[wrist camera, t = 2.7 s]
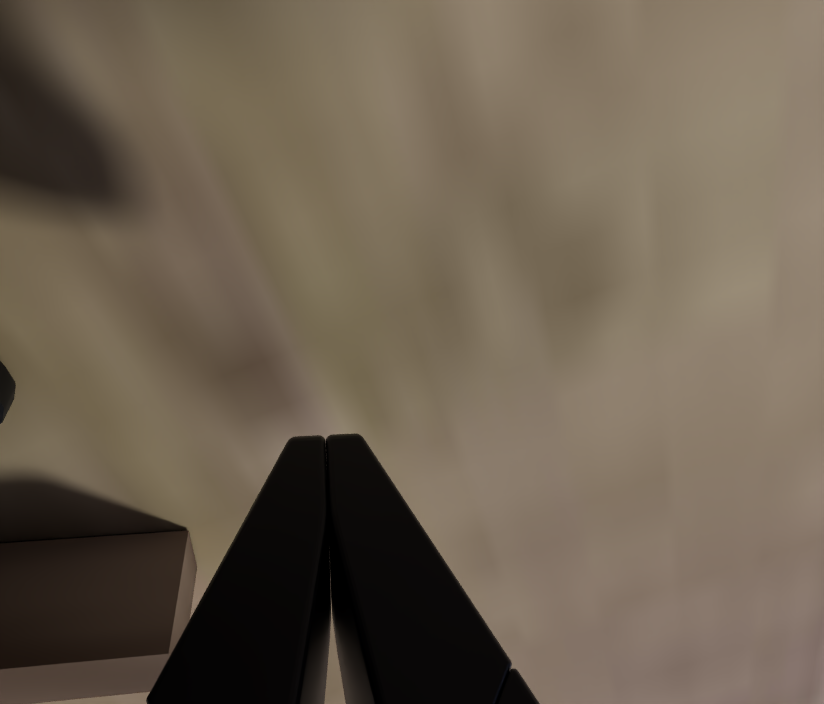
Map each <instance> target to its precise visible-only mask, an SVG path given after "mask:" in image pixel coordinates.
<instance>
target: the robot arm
mask: <svg viewBox="0 0 824 704" xmlns="http://www.w3.org/2000/svg"><path fill="white" fill-rule="evenodd" d="M326 464H327V466H326ZM329 550H330V552H329ZM330 577H331V587H330ZM331 601H332V616H333V624H334V632H335V639H336V646H337V652H338V658H339V664H340V670H341V676H342V683H343V689H344V695H345V701H346V704H539V702H538V701H537V699H536V698H535V696H534V695H533V693H532V692H531V690H530V689H529V687H528V686H527V684H526V683H525V681H524V679H523V678H522V676H521V675H520V673H519V672H518V671H517V670H516V669H511V665H512V663H511V660H510V659H509V657H508V656H507V654H506V653H505V651H504V650H503V648H502V647H501V645H500V644H499V642H498V641H497V639H496V638H495V636H494V635H493V633H492V632H491V630H490V629H489V627H488V626H487V624H486V623H485V621H484V620H483V618H482V617H481V615H480V614H479V612H478V611H477V609H476V608H475V606H474V605H473V603H472V601H471V600H470V598H469V597H468V595H467V594H466V592H465V591H464V589H463V588H462V586H461V585H460V583H459V582H458V580H457V579H456V577H455V576H454V574H453V573H452V571H451V570H450V568H449V567H448V565H447V564H446V562H445V561H444V559H443V558H442V556H441V555H440V553H439V552H438V550H437V549H436V547H435V546H434V544H433V542H432V541H431V539H430V538H429V536H428V535H427V533H426V532H425V530H424V529H423V527H422V526H421V524H420V523H419V521H418V520H417V518H416V517H415V515H414V514H413V512H412V511H411V509H410V508H409V506H408V505H407V503H406V502H405V500H404V499H403V497H402V496H401V494H400V493H399V491H398V490H397V488H396V487H395V485H394V483H393V482H392V480H391V479H390V477H389V476H388V474H387V473H386V471H385V470H384V468H383V467H382V465H381V464H380V462H379V461H378V459H377V458H376V456H375V455H374V453H373V452H372V450H371V449H370V447H369V446H368V444H367V443H366V441H365V440H364V438H363V437H362V436H361V435H359V434H337V435H330V436H328V437H327V439H326V443H325V439H324V437H322V436H319V435H317V436H298V437H292V438H291V439H289V441H288V442H287V443H286V445H285V447H284V449H283V451H282V453H281V454H280V456H279V458H278V460H277V462H276V463H275V465H274V467H273V469H272V471H271V473H270V474H269V476H268V478H267V480H266V482H265V484H264V485H263V487H262V489H261V491H260V493H259V494H258V496H257V498H256V500H255V502H254V504H253V505H252V507H251V509H250V511H249V513H248V515H247V516H246V518H245V520H244V522H243V524H242V525H241V527H240V529H239V531H238V533H237V535H236V536H235V538H234V540H233V542H232V544H231V546H230V547H229V549H228V551H227V553H226V555H225V556H224V558H223V560H222V562H221V564H220V566H219V567H218V569H217V571H216V573H215V575H214V577H213V578H212V580H211V582H210V584H209V586H208V588H207V589H206V591H205V593H204V595H203V597H202V598H201V600H200V602H199V604H198V606H197V608H196V609H195V611H194V613H193V615H192V617H191V619H190V620H189V622H188V624H187V626H186V628H185V629H184V631H183V633H182V635H181V637H180V639H179V640H178V642H177V644H176V646H175V648H174V650H173V651H172V653H171V655H170V657H169V659H168V660H167V662H166V664H165V666H164V668H163V670H162V671H161V673H160V675H159V677H158V679H157V681H156V682H155V684H154V686H153V688H152V690H151V692H150V693H149V695H148V697H147V700H146V702H147V704H324V701H325V689H326V677H327V665H328V654H329V642H330V626H331ZM510 669H511V670H510Z"/></svg>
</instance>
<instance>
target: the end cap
mask: <svg viewBox="0 0 824 704" xmlns="http://www.w3.org/2000/svg"><path fill="white" fill-rule="evenodd" d="M15 386H16V385H15V381H14V380H13V378H12V376H11V375H10V373H9V372H8V370H7V368H6V367H5V366H4V365H3V364H2V363H1V362H0V424H1V423H2V422H3V420H4V418H5V416H6V414H7V412H8V410H9V408H10V406H11V404H12V402H13V400H14V394H15Z"/></svg>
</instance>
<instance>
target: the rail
mask: <svg viewBox="0 0 824 704" xmlns="http://www.w3.org/2000/svg"><path fill="white" fill-rule="evenodd" d="M196 571H197V564H196V560H195V556H194V552H193V547H192V543H191V539H190V535H189V531H175V532H160V533H146V534H131V535H117V536H102V537H87V538H73V539H58V540H43V541H29V542H14V543H0V704H31V703H41V702H51V701H61V700H71V699H81V698H91V697H101V696H111V695H121V694H131V693H141V692H151V690H152V688H153V686H154V684H155V682H156V681H157V679H158V677H159V675H160V673H161V671H162V670H163V668H164V666H165V664H166V662H167V660H168V659H169V657H170V655H171V653H172V651H173V650H174V648H175V646H176V644H177V642H178V640H179V639H180V637H181V635H182V633H183V631H184V629H185V628H186V626H187V624H188V622H189V620H190V613H191V606H192V599H193V592H194V585H195V578H196Z"/></svg>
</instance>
